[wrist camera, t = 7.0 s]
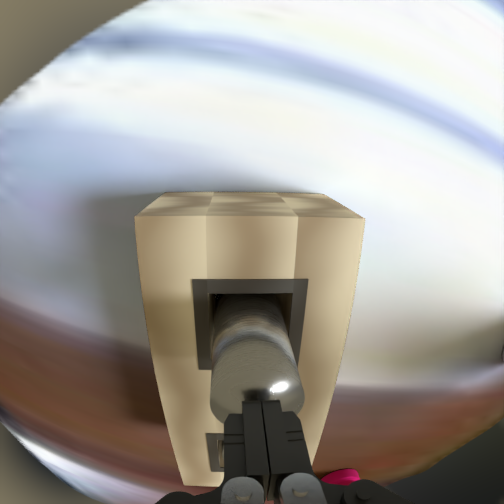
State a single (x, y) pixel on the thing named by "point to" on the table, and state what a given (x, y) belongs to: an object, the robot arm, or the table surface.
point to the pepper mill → (341, 477)
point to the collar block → (243, 282)
